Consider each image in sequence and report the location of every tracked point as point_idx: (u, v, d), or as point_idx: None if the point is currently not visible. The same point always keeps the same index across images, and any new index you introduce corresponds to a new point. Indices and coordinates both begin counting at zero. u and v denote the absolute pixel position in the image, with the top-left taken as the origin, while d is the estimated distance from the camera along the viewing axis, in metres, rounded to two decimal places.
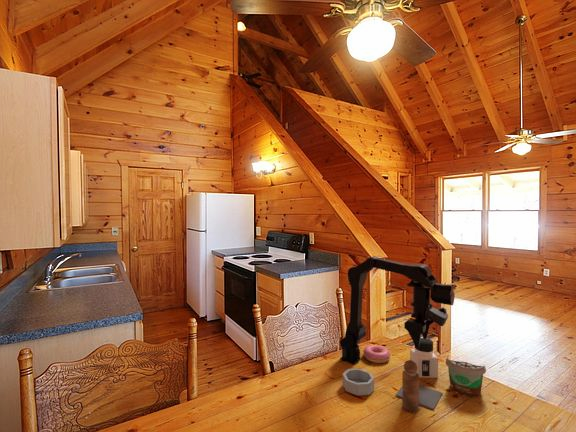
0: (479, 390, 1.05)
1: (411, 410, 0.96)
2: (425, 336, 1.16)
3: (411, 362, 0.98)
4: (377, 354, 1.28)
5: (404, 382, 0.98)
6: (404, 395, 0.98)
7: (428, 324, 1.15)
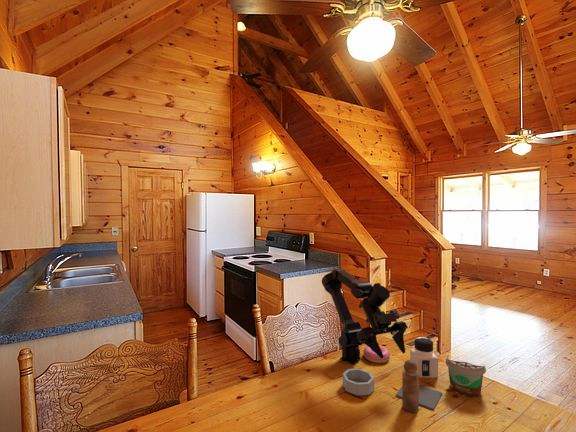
0: (479, 390, 1.05)
1: (411, 410, 0.96)
2: (402, 350, 1.08)
3: (411, 362, 0.98)
4: None
5: (404, 382, 0.98)
6: (404, 395, 0.98)
7: (398, 336, 1.10)
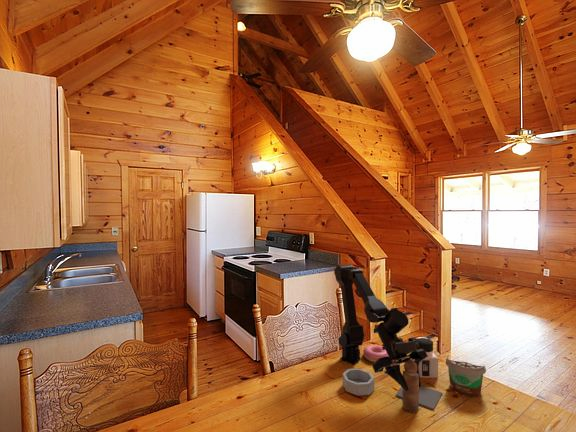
0: (479, 390, 1.05)
1: (411, 410, 0.96)
2: None
3: (411, 362, 0.98)
4: (377, 354, 1.28)
5: None
6: (404, 395, 0.98)
7: None
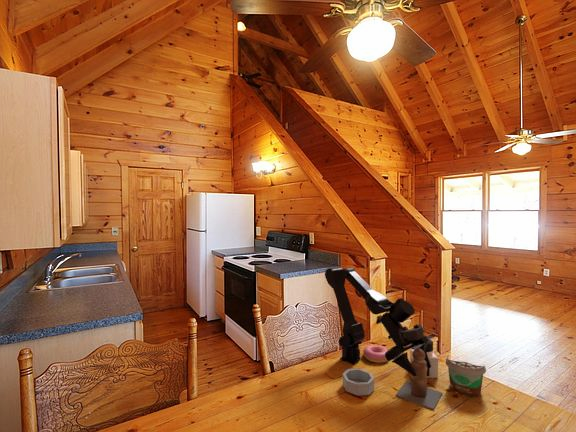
0: (479, 390, 1.05)
1: (421, 395, 1.03)
2: (428, 364, 1.07)
3: (420, 350, 1.04)
4: (377, 354, 1.28)
5: None
6: (414, 382, 1.04)
7: None
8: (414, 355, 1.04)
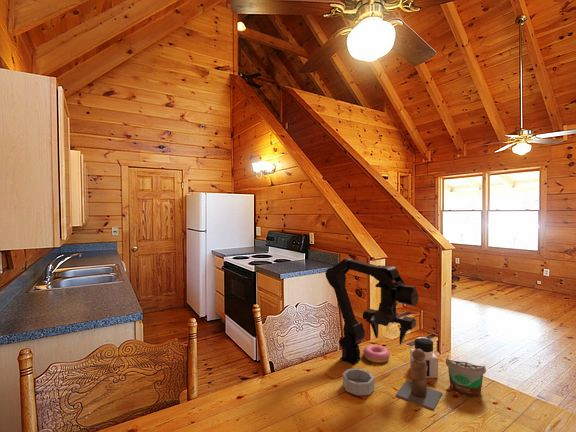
0: (479, 390, 1.05)
1: (421, 395, 1.03)
2: None
3: (420, 350, 1.04)
4: (377, 354, 1.28)
5: (414, 370, 1.04)
6: (414, 382, 1.04)
7: None
8: (414, 355, 1.04)
